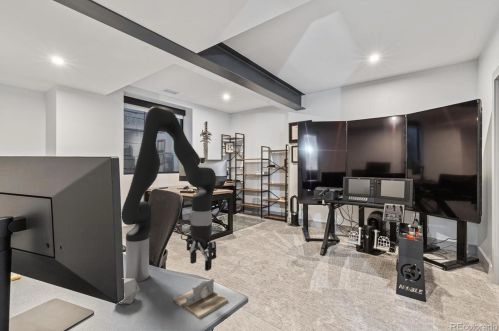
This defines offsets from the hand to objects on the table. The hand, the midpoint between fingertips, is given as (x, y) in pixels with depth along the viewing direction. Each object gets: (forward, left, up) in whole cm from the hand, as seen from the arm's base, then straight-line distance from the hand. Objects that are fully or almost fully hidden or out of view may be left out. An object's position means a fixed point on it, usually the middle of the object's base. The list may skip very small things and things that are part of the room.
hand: (200, 266), depth 87 cm
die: (-20, -18, -13) cm, 30 cm away
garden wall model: (0, 0, -12) cm, 12 cm away
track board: (0, 0, -13) cm, 13 cm away
